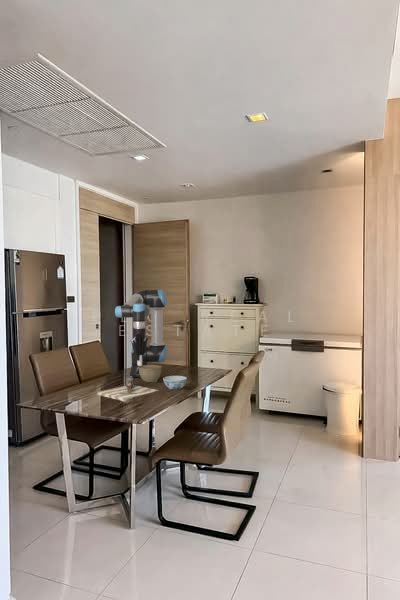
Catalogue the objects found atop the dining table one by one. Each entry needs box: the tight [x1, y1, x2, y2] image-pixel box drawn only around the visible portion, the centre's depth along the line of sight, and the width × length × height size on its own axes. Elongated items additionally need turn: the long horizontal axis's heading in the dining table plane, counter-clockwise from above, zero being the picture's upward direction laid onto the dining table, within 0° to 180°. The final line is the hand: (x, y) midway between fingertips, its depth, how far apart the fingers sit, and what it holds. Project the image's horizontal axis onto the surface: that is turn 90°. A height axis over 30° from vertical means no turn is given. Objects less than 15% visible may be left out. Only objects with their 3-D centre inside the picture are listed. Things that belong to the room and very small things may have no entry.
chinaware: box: [162, 375, 188, 390], centre depth 262 cm, size 15×15×8 cm
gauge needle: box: [125, 376, 135, 392], centre depth 258 cm, size 19×5×6 cm, turn 9°
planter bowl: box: [138, 364, 163, 383], centre depth 287 cm, size 16×16×11 cm
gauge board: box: [96, 384, 160, 402], centre depth 254 cm, size 27×27×2 cm
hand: (139, 365), depth 259 cm, fingers closed
